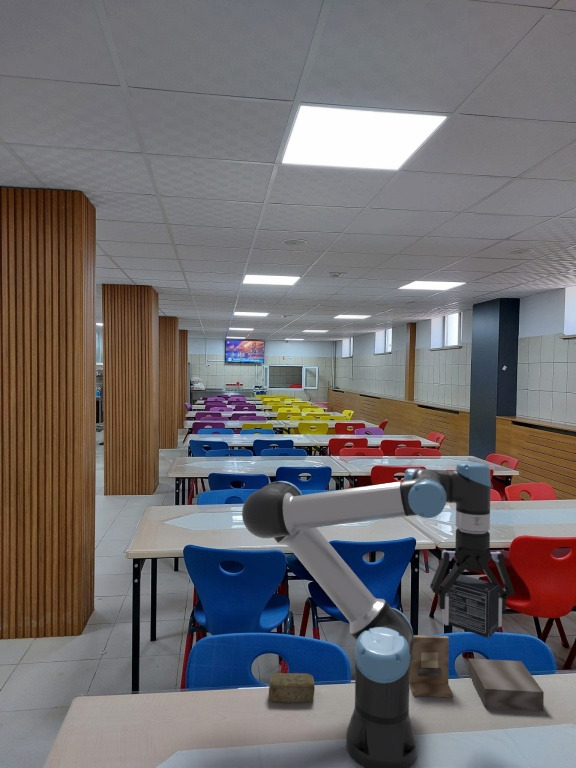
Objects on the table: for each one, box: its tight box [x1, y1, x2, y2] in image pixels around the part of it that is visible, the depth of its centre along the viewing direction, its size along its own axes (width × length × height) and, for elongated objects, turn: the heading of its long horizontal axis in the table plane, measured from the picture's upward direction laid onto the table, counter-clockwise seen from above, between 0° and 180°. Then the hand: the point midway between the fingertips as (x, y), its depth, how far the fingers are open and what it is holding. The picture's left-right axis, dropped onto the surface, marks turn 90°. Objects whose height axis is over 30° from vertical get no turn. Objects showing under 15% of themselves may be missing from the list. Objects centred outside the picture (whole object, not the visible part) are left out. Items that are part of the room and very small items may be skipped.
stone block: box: [268, 672, 315, 704], centre depth 128 cm, size 6×12×5 cm, turn 91°
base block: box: [468, 658, 545, 712], centre depth 131 cm, size 14×14×5 cm
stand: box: [409, 634, 454, 698], centre depth 132 cm, size 10×6×13 cm, turn 88°
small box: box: [446, 574, 499, 639], centre depth 118 cm, size 11×6×10 cm, turn 47°
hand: (471, 623), depth 118 cm, fingers closed on small box, 11 cm apart
